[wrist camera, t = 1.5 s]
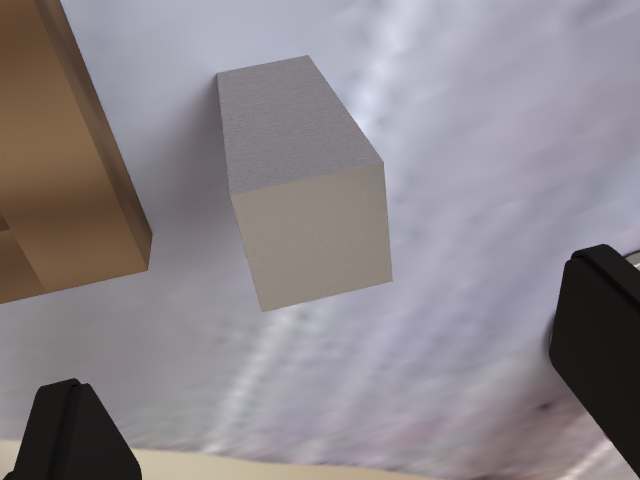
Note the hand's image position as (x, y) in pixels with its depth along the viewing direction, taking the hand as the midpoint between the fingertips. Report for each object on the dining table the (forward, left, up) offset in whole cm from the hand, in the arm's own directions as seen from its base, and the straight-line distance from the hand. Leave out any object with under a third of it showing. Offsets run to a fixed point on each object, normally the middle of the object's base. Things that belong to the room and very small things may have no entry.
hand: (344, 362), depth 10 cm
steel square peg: (0, 0, -16) cm, 16 cm away
